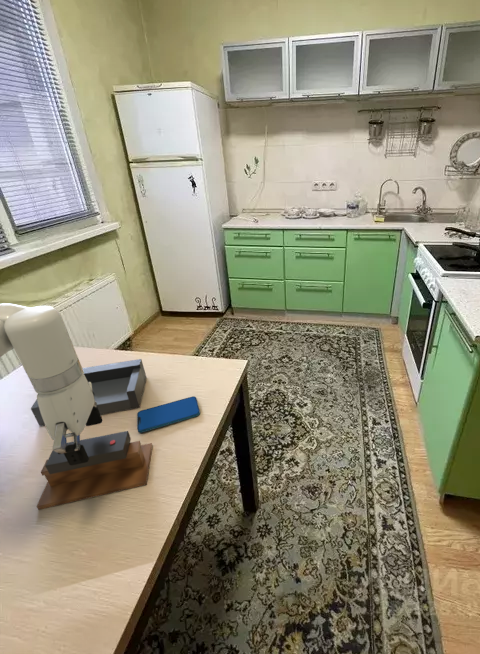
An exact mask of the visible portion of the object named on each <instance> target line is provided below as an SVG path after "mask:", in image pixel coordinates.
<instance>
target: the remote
mask: <svg viewBox="0 0 480 654" xmlns="http://www.w3.org/2000/svg"><path fill="white" fill-rule="evenodd" d="M131 440H132V438H131V436H130V433H129V430H125V431H124V430H123V431H119V432H115V433H110V434H105V435H104V434H103V435H101V436H95V437H89V438H85V439H84V438H83V439H80V445H83V446H84V448H85V451H86V453H87V455H88V457H89V460H88V462H85V463H81V464H76V465H69V463H68V461H67V459H66V457H65V455H64V453H63V454H58V453H57V452H55V451H53V450H52V451H51V452H50V455H49V457H48V459H47V460H48V461H47V463H46V465H45V467H46V468H47V470H48V472H49V474H54V473H59V472H63V471H68V470H73V469H78V468H82V467H87V466H92V465H96V464H101V463H106V462H110V461H115V460H120V459H125V458H126V457H127V453H128V449H129V444H130V443H131ZM71 444H74V441H70V442H69V441H67V445H71Z"/></svg>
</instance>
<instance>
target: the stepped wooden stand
mask: <svg viewBox="0 0 480 654" xmlns="http://www.w3.org/2000/svg"><path fill="white" fill-rule="evenodd" d="M152 453H153V443H152V442H149V443H145V444H142V443H141V440H136V441H130V444H129V449H128V453H127V457H126V458H125V459H120V460H115V461H110V462H106V463H101V464H96V465H92V466H87V467H82V468H78V469H73V470H68V471H63V472H59V473H54V474H49V472H48V470H47V468H46V467H45V465H46V463H47V461H48V459H46V460H45V461H44V463H43V466H42V468H41V471H40V474H41V476H44V477H45V480H46V481H47V482H46V484H45V487H44V489H43V491H42V493H41V496H40V498H39V500H38V502H37V505H36V508H37V510H38V511H39V510H43V509H48V508H52V507H56V506H60V505H65V504H69V503H75V502H78V501H82V500H86V499H90V498H95V497H100V496H104V495H109V494H113V493H117V492H122V491H126V490H130V489H133V488H139V487H142V486H147V485H148V479H149V472H150V465H151V460H152Z"/></svg>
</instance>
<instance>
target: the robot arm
mask: <svg viewBox="0 0 480 654" xmlns="http://www.w3.org/2000/svg"><path fill="white" fill-rule="evenodd" d="M13 350H14V351H15V354H16V355H17V357H18V360H19V361H20V364H21V366H22V367H23V370H24V371H25V374H26V375H27V378H28V379H29V381H30V383H31V385H32V388H33V389H34V392H35V393H36V399H37V401H38V405H39V409H40V412H41V415H42V418H43V421H44V423H45V425H44V426H45V428H46V430H47V433H48V435H49V436H50V438H51V440H53V443H52V451H55V452H57V453H58V454H63V453H64V455H65V457H66V459H67V461H68V463H69V465H76V464H81V463H85V462H88V460H89V457H88V455H87V453H86V451H85V448H84V446H83V445H80V440H81V436H80V435H81V433H82V432H83V431H84V430H85V427H91V426H95V425H96V426H97V425H100V424H102V423H103V421H104V420H103V418H102V415H100V412H99V410H98V407H97V402H96V401H94V395H95V394H94V392H92V384H91V382H88V381H87V379H86V377H85V375H84V371H83V369H82V368H83V367H82V364H81V361H80V359H79V357H78V354H77V352H76V349H75V347H74V343H73V342H72V340H71V336H70V334H69V332H68V329H67V327H66V324H65V322H64V319H63V317H62V315H61V313H60V311H59V310H58V309H56V308H55V307H53V306H50V305H49V306H48V305H37V306H32V307H29V306H25V305H20V304H15V303H8V302H7V303H6V302H3V303H0V358H1V357H3V356H5V355H6V354H7V353H9V352H10V351H13ZM95 407H96V408H95ZM67 430H68V431H69V433H67ZM71 437H73V442H74V444H71V445H67V443H68V441H67V439H68V438H71Z"/></svg>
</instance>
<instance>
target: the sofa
mask: <svg viewBox="0 0 480 654" xmlns="http://www.w3.org/2000/svg"><path fill="white" fill-rule="evenodd" d="M82 369H83V371H84V375H85V377H86V379H87V381H88V382H91V384H92V392H94V394H95V395H94V401H96V402H97V407H98V410H99V412H100V415H101V416H102V415H103V416H104V415H106V414H113V413H119V412H125V411H130V410H135V409H140V408H141V403H142V399H143V395H144V390H145V386H146V383H147V375H146V371H145V367H144V363H143V359H142V358H138V359H137V358H136V359H132V360H125V361H119V362H113V363H106V364H99V365H93V366H87V367H82ZM95 408H96V407H95ZM30 410H31V412H32V414H33V416H34V418H35V420H36V422H37V424H38V426H39V427H43V426H45V423H44V421H43V418H42V415H41V412H40V409H39V405H38V401H37V398H36V400H35V401H34V402H33V404H32V405H31V407H30Z"/></svg>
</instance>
